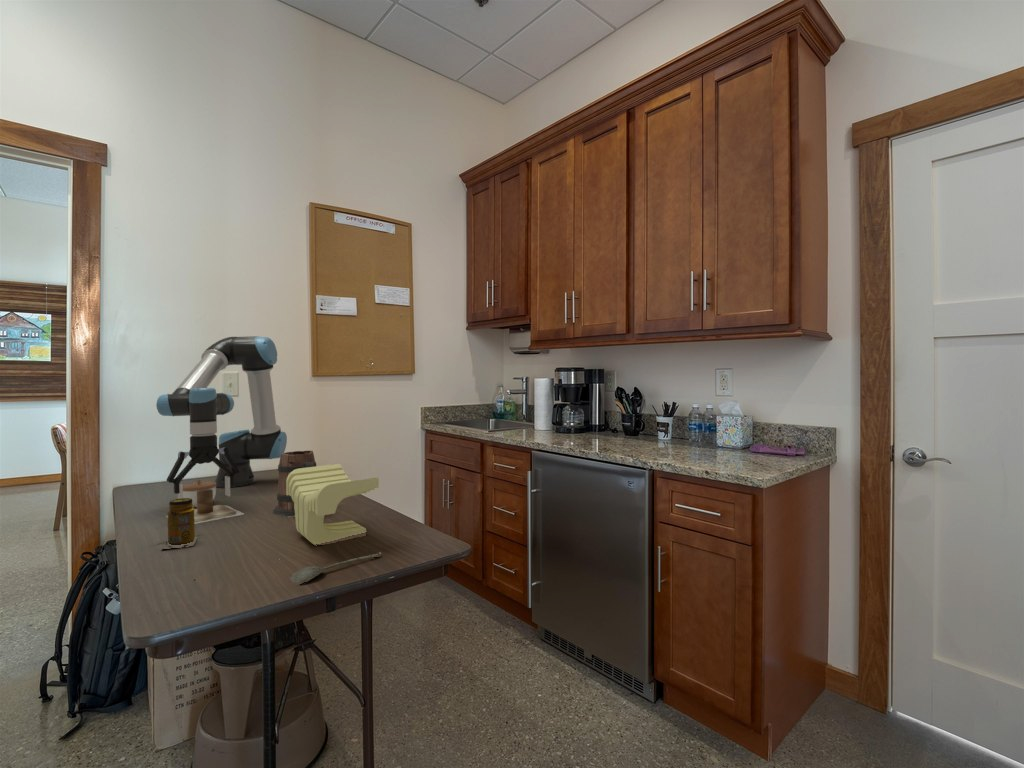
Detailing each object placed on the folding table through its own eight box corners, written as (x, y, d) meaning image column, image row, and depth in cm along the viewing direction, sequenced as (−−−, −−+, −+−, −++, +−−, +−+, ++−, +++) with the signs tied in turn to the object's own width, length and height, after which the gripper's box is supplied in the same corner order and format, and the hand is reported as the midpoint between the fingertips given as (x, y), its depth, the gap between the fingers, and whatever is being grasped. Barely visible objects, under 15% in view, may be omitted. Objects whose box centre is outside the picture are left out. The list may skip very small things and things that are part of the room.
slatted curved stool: (287, 530, 144) (285, 470, 144) (341, 519, 154) (339, 463, 154) (318, 557, 120) (317, 486, 120) (379, 543, 130) (378, 477, 130)
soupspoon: (283, 584, 107) (293, 594, 103) (282, 569, 107) (293, 579, 102) (374, 554, 123) (387, 562, 118) (374, 541, 122) (387, 549, 118)
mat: (226, 506, 172) (226, 505, 172) (244, 515, 160) (244, 514, 160) (165, 518, 159) (165, 516, 159) (180, 528, 147) (180, 526, 147)
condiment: (198, 538, 138) (197, 495, 138) (193, 546, 130) (192, 502, 130) (167, 542, 135) (166, 499, 135) (160, 551, 127) (159, 505, 127)
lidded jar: (204, 510, 168) (203, 483, 168) (173, 510, 169) (173, 483, 169) (223, 502, 179) (222, 477, 179) (194, 502, 179) (194, 477, 179)
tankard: (263, 511, 166) (262, 452, 166) (313, 502, 177) (312, 447, 177) (288, 525, 149) (286, 460, 149) (341, 514, 160) (340, 453, 160)
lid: (221, 507, 169) (221, 484, 169) (236, 514, 160) (235, 490, 160) (174, 516, 159) (173, 491, 159) (186, 523, 150) (185, 498, 150)
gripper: (240, 431, 171) (241, 491, 171) (154, 437, 153) (155, 505, 153) (248, 432, 166) (249, 494, 166) (160, 439, 148) (161, 508, 148)
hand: (204, 499), depth 159 cm, fingers open, 13 cm apart
